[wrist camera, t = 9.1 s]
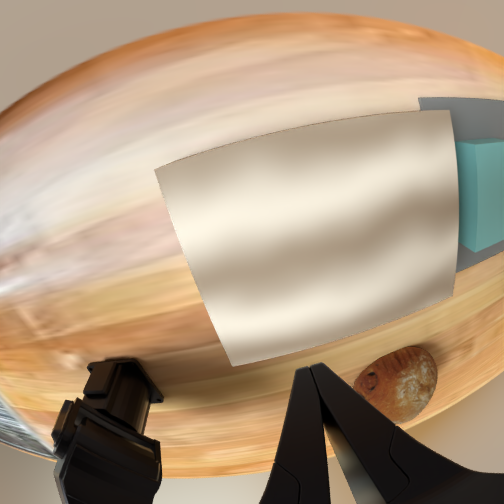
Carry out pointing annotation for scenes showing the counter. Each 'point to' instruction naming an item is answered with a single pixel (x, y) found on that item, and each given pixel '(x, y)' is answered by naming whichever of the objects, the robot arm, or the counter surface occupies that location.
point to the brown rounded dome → (399, 383)
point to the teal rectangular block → (480, 192)
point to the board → (318, 229)
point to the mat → (469, 128)
